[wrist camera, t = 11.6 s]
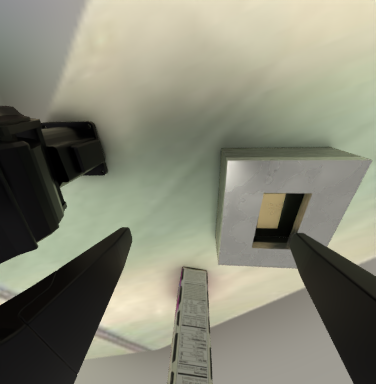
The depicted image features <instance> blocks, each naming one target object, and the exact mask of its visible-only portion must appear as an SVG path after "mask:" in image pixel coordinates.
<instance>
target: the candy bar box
mask: <svg viewBox="0 0 376 384" xmlns="http://www.w3.org/2000/svg"><path fill="white" fill-rule="evenodd" d="M167 384H213V383H212V361H211V341H210V323H209V301H208V277H207V271H205V270H201V269H193V268H186V267H183V268H182V272H181V278H180V284H179V290H178V296H177V304H176V312H175V321H174V329H173V338H172V347H171V355H170V364H169V371H168V380H167Z"/></svg>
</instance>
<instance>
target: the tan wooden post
mask: <svg viewBox="0 0 376 384" xmlns="http://www.w3.org/2000/svg"><path fill="white" fill-rule="evenodd" d="M285 196H286V193H264V194H263V199H262V203H261V208H260V212H259V217H258V221H257V226H256V228H277V227H278V223H279V219H280V215H281V211H282V207H283V204H284V200H285Z"/></svg>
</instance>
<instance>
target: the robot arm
mask: <svg viewBox="0 0 376 384" xmlns="http://www.w3.org/2000/svg"><path fill="white" fill-rule="evenodd" d="M89 125H90V126H91V128H90V127H89ZM45 126H46V128H45ZM102 170H103V171H104V172H102ZM105 174H107V168H106V164H105V158H104V155H103V151H102V147H101V144H100V141H99V139H98V135H97V132H96V128H95V125H94V124H93V123H92V122H90V121H86V122H46V123H41V122H40V120H39V119H32V118H30V117H27V116H24V115H22V114H20V113H19V112H18V111H17V110H16V109H15V108H14V107H9V106H0V264H1V263H2V262H5V261H7V260H9V259H11V258H13V257H16V256H18V255H20V254H23V253H26V252H29V251H32V250H35V249H37V248H38V245H37V243H38V242H39V241H41V240H43V239H44V238H46V237H47V236H49V235H51V234H52V233H53V232H54V231H55V230H57V229H58V228H59V223H60V221H61V219H62V218H63V216H64V210H65V209H66V207H67V205H66V202H65V201H64V199H63V196H62V193H61V190H60V187H62V186H64V185H66V184H68V183H69V182H71V181H73V180H75V179H76V178H78V177H80V176H82V175H105ZM131 243H132V236H131V232H130V229H129V228H128V227H122V228H120V229H118V230H117V231H115V232H114V233H112V234H111V235H109V236H108V237H106V238H105V239H103V240H102V241H100V242H99V243H97V244H96V245H94V246H93V247H91V248H90V249H88V250H87V251H85V252H84V253H82V254H81V255H79V256H78V257H76V258H75V259H73V260H71V261H70V262H68V263H67V264H65V265H64V266H62V267H61V268H59V269H58V270H57V271H55V272H53V273H52V274H50V275H49V276H47V277H46V278H44V279H43V280H41V281H39V282H38V283H36V284H35V285H33V286H32V287H30V288H28V289H27V290H25V291H23V292H22V293H20V294H18V295H17V296H15V297H13V298H12V299H10V300H8V301H7V302H5V303H3V304H1V305H0V384H74V382H75V380H76V377H77V374H78V372H79V370H80V367H81V365H82V363H83V361H84V359H85V356H86V354H87V352H88V349H89V347H90V345H91V342H92V340H93V338H94V335H95V333H96V331H97V329H98V326H99V324H100V322H101V319H102V317H103V315H104V312H105V310H106V308H107V305H108V303H109V301H110V299H111V296H112V294H113V292H114V289H115V287H116V285H117V282H118V280H119V278H120V275H121V273H122V271H123V268H124V266H125V263H126V259H127V256H128V253H129V250H130V247H131ZM290 250H291V252H292V255H293V258H294V260H295V263H296V266H297V269H298V271H299V274H300V276H301V278H302V280H303V282H304V284H305V287H306V289H307V291H308V292H309V295H310V297H311V299H312V300H313V303H314V304H315V307H316V309H317V311H318V313H319V315H320V317H321V319H322V321H323V323H324V325H325V327H326V329H327V331H328V333H329V335H330V337H331V339H332V341H333V343H334V345H335V347H336V349H337V351H338V353H339V355H340V357H341V359H342V361H343V363H344V365H345V367H346V369H347V371H348V373H349V375H350V377H351V379H352V381H353V383H354V384H376V276H374V275H373V274H371V273H369V272H368V271H366V270H364V269H363V268H361V267H359V266H358V265H356V264H354V263H353V262H351V261H349V260H348V259H346V258H344V257H343V256H341V255H339V254H338V253H336V252H334V251H333V250H331V249H329V248H328V247H326V246H324V245H323V244H321V243H319V242H318V241H316V240H314V239H313V238H311V237H309V236H308V235H306V234H304V233H294V234H293V236H292V239H291V241H290Z"/></svg>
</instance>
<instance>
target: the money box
mask: <svg viewBox="0 0 376 384" xmlns="http://www.w3.org/2000/svg"><path fill="white" fill-rule="evenodd" d="M371 162H372V160H371V159H367V158H364V157H361V156H358V155H354V154H351V153H348V152H345V151H341V150H338V149H335V148H332V147H294V148H222V151H221V165H220V179H219V193H218V207H217V222H216V236H215V238H216V248H217V257H218V265H234V266H255V267H276V268H297V266H296V263H295V260H294V258H293V255H292V252H291V250H290V241H291V239H292V236H293V234H294V233H304V234H306V235H308V236H309V237H311V238H313V239H314V240H316V241H318V242H319V243H321V244H323V245H324V246H326V247H327V246H328V244H329V242H330V240H331V238H332V236H333V234H334V233H335V231H336V229H337V227H338V225H339V223H340V221H341V219H342V217H343V215H344V214H345V212H346V210H347V208H348V206H349V204H350V202H351V200H352V198H353V196H354V195H355V193H356V191H357V189H358V187H359V185H360V183H361V181H362V179H363V177H364V176H365V174H366V172H367V170H368V168H369V166H370V164H371ZM264 193H305V194H304V197H303V200H302V202H301V205H300V208H299V211H298V214H297V216H296V219H295V222H294V225H293V228H292V230H291V233H290V236H289V237H276V236H254V235H255V230H256V226H257V221H258V217H259V212H260V208H261V203H262V199H263V194H264Z"/></svg>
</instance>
